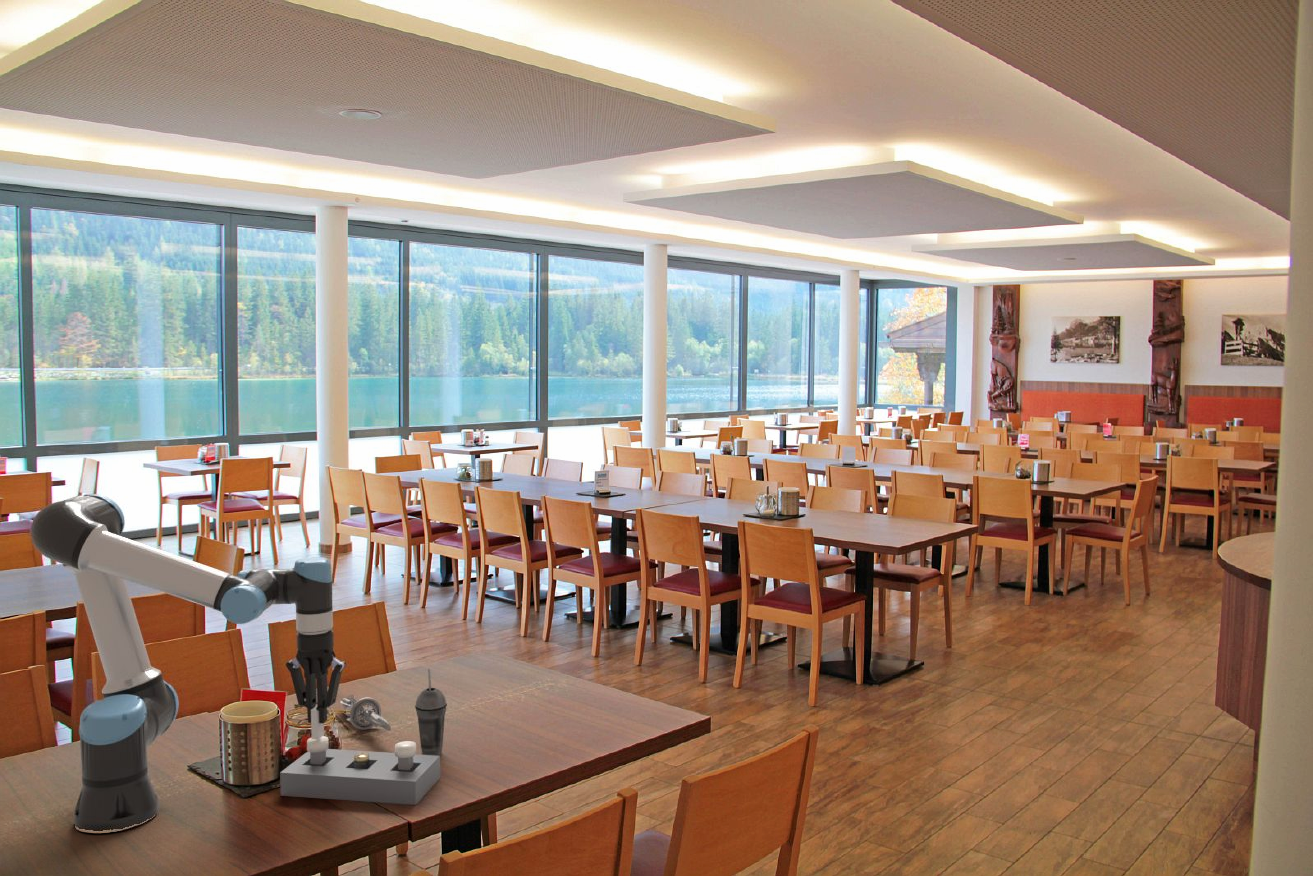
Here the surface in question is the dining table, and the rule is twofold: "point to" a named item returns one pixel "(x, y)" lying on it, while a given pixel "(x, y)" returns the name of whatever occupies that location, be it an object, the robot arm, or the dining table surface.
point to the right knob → (405, 754)
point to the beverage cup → (431, 719)
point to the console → (361, 778)
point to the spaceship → (364, 713)
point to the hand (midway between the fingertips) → (317, 737)
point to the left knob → (317, 749)
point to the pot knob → (361, 761)
